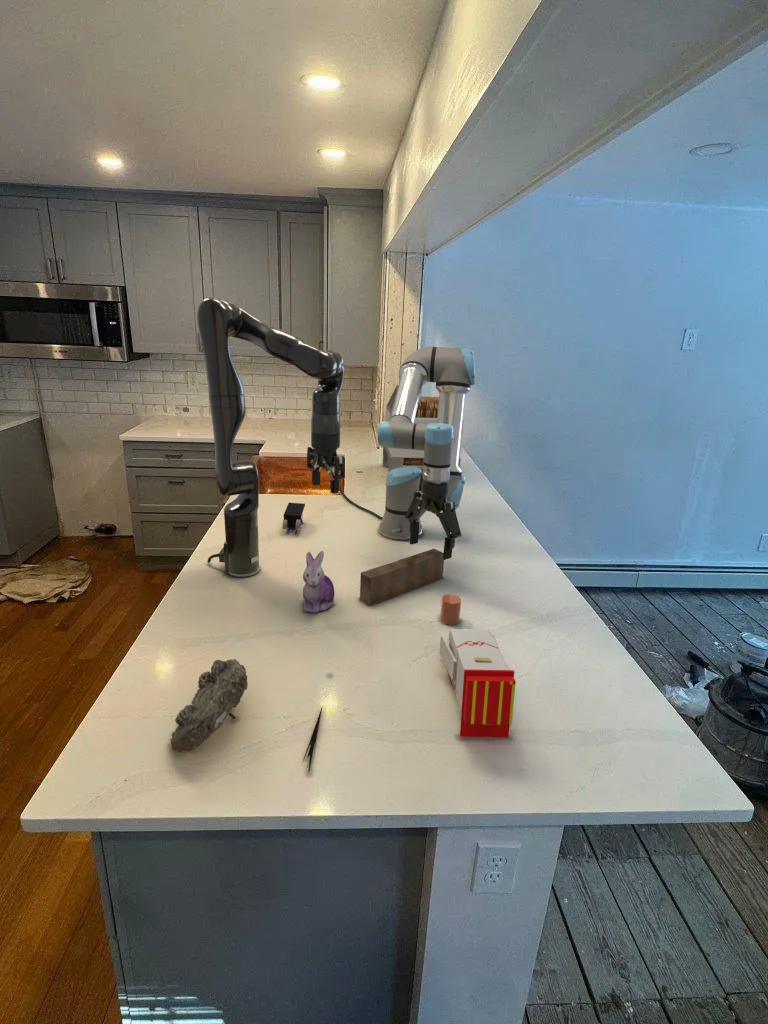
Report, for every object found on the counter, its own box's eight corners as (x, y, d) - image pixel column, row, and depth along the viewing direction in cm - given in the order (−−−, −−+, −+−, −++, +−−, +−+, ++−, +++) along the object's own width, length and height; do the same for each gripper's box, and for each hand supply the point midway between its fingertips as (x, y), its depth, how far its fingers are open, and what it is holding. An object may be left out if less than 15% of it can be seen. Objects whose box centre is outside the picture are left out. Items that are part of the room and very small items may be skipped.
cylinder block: (435, 618, 146) (437, 597, 144) (449, 612, 149) (451, 592, 147) (450, 626, 143) (452, 605, 141) (463, 620, 146) (465, 599, 144)
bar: (369, 605, 151) (371, 578, 148) (359, 599, 154) (360, 572, 151) (442, 577, 169) (444, 553, 166) (432, 572, 172) (434, 548, 169)
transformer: (381, 463, 289) (385, 382, 275) (444, 464, 292) (450, 384, 279) (389, 482, 257) (393, 392, 243) (459, 483, 261) (467, 394, 247)
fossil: (195, 660, 117) (247, 628, 112) (227, 691, 120) (279, 661, 115) (146, 746, 98) (206, 711, 93) (185, 779, 101) (245, 748, 96)
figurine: (308, 617, 144) (307, 563, 139) (294, 599, 152) (294, 548, 147) (342, 610, 148) (343, 557, 143) (327, 592, 156) (328, 542, 151)
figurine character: (301, 540, 194) (306, 519, 208) (300, 520, 191) (305, 501, 204) (281, 539, 194) (287, 519, 207) (280, 519, 191) (287, 500, 204)
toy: (489, 613, 130) (525, 677, 101) (485, 667, 133) (518, 744, 104) (437, 612, 130) (457, 676, 101) (434, 666, 133) (453, 743, 103)
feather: (331, 679, 122) (336, 673, 122) (307, 777, 96) (313, 769, 95) (324, 675, 122) (329, 669, 121) (298, 772, 95) (304, 764, 95)
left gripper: (298, 426, 150) (299, 484, 156) (329, 436, 140) (329, 498, 146) (321, 423, 155) (321, 480, 160) (353, 433, 145) (352, 493, 150)
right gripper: (395, 471, 164) (391, 540, 171) (460, 493, 146) (453, 568, 153) (414, 468, 168) (410, 535, 175) (479, 489, 151) (471, 562, 158)
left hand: (325, 488), depth 153 cm, fingers open, 8 cm apart
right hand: (430, 550), depth 164 cm, fingers open, 13 cm apart
